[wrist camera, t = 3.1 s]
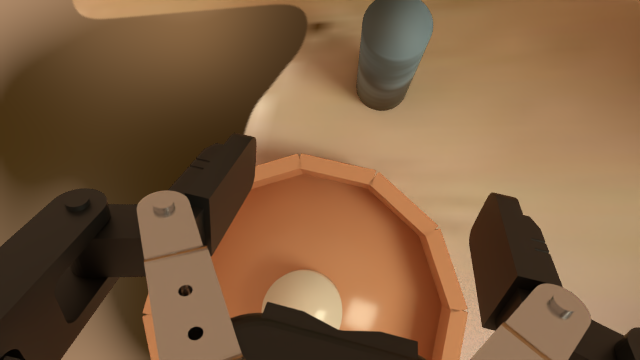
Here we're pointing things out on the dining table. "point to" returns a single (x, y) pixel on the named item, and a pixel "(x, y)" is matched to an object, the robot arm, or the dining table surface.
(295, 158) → the ring tray
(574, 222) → the dining table surface
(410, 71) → the bead peg
